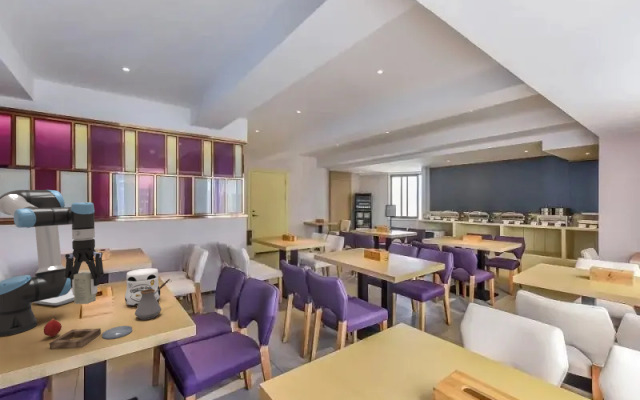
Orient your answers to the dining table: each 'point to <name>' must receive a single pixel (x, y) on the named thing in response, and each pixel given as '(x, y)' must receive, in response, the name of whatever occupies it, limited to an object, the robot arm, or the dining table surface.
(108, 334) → the coaster
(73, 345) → the pocket holder
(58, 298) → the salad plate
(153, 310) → the coffee pot
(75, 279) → the skincare box
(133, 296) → the milk container
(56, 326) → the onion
